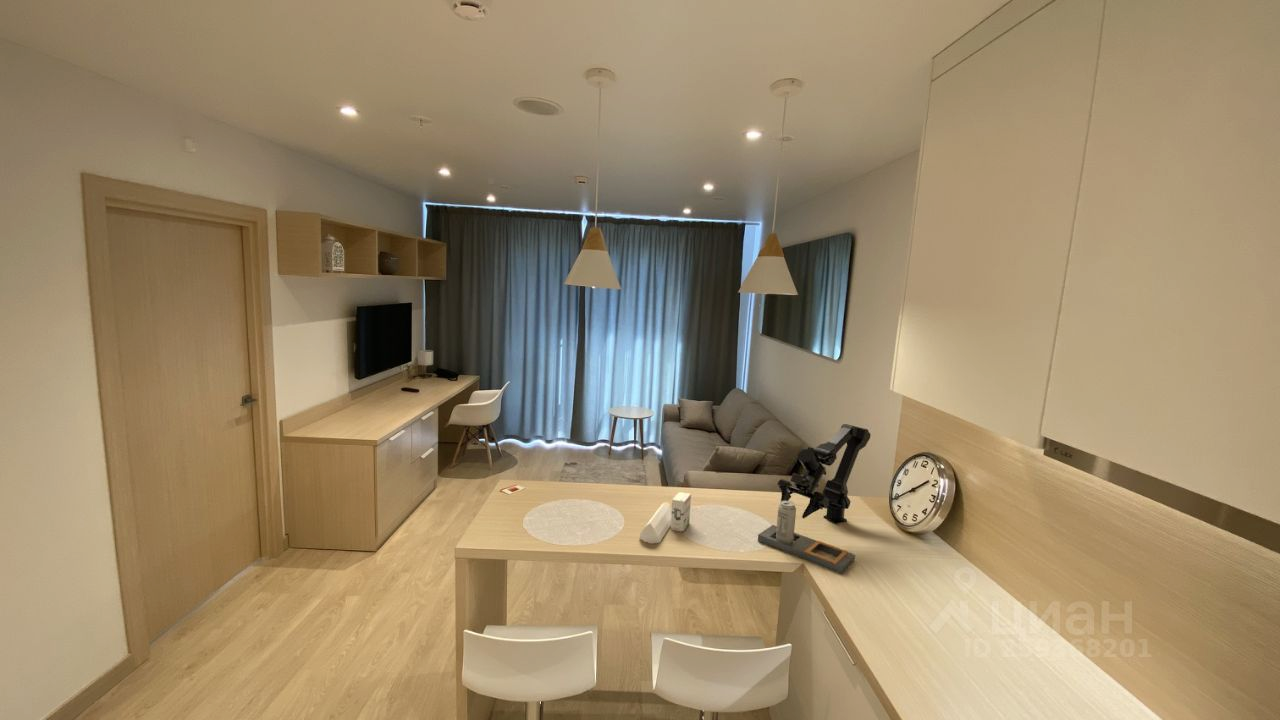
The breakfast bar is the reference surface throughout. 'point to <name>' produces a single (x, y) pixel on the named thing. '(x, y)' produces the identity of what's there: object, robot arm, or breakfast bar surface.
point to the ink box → (680, 511)
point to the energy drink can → (786, 522)
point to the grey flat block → (809, 550)
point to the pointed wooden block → (657, 525)
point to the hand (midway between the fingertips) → (791, 513)
